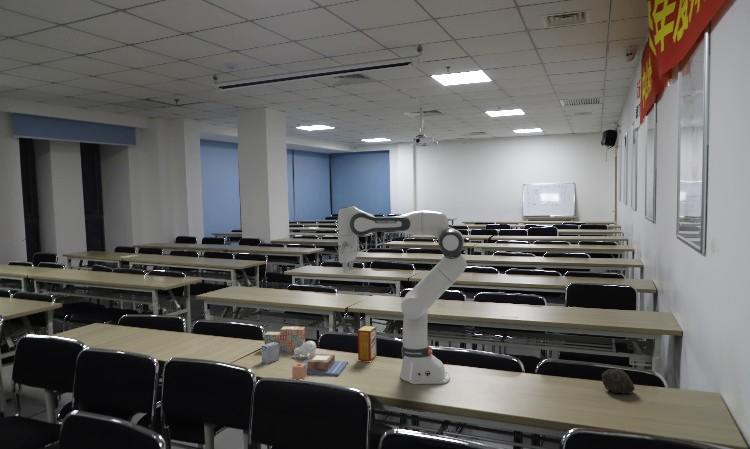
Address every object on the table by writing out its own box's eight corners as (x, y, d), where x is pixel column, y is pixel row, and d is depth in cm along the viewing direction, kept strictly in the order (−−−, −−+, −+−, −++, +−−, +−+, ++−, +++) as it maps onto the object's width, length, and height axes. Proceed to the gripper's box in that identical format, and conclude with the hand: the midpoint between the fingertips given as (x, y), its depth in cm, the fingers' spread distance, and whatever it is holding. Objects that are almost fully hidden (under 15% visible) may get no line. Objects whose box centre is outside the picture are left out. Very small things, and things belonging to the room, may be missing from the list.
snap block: (306, 376, 222) (306, 362, 222) (303, 380, 217) (302, 366, 217) (296, 375, 223) (296, 361, 223) (292, 379, 218) (292, 365, 218)
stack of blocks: (264, 351, 263) (263, 328, 262) (267, 348, 269) (267, 326, 268) (302, 351, 261) (302, 329, 260) (305, 348, 267) (305, 326, 266)
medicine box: (273, 358, 250) (273, 341, 249) (279, 359, 247) (279, 343, 247) (261, 362, 243) (261, 345, 243) (267, 364, 240) (267, 346, 240)
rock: (640, 393, 194) (635, 368, 194) (615, 399, 192) (610, 374, 193) (624, 387, 204) (619, 363, 204) (600, 392, 202) (595, 368, 203)
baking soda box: (364, 355, 252) (364, 325, 252) (376, 356, 250) (376, 325, 250) (358, 360, 243) (357, 329, 243) (370, 362, 241) (370, 330, 241)
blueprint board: (348, 363, 239) (347, 353, 239) (338, 376, 222) (338, 364, 222) (305, 361, 244) (305, 351, 243) (293, 373, 226) (292, 362, 226)
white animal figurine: (311, 342, 246) (290, 343, 250) (313, 359, 246) (292, 359, 250) (316, 339, 252) (295, 340, 256) (318, 355, 252) (297, 356, 256)
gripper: (348, 242, 212) (349, 274, 213) (359, 239, 232) (359, 268, 233) (335, 242, 213) (335, 274, 214) (346, 239, 233) (346, 268, 234)
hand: (348, 271), depth 223 cm, fingers open, 8 cm apart
